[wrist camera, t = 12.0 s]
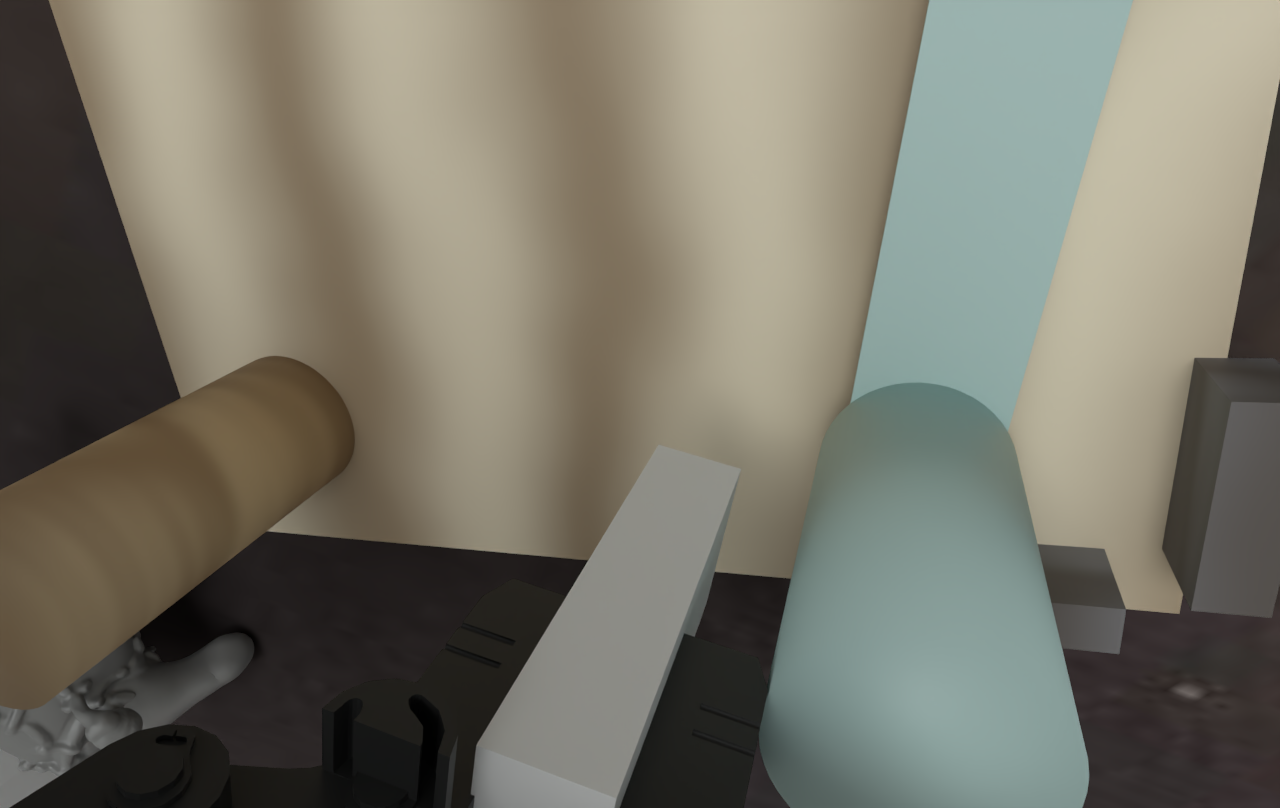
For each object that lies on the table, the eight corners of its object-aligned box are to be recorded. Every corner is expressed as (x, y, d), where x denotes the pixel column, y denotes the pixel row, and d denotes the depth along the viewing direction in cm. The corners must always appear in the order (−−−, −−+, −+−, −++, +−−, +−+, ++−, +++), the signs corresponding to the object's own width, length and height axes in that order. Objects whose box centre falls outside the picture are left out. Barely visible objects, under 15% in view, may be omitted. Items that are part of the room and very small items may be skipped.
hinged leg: (986, 541, 17) (1037, 910, 10) (810, 504, 18) (741, 821, 11) (1213, -222, 12) (1689, -613, 4) (944, -225, 12) (984, -560, 5)
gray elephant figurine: (156, 679, 34) (-18, 850, 27) (-53, 437, 31) (-311, 565, 24) (312, 630, 30) (153, 813, 24) (94, 346, 27) (-165, 468, 20)
